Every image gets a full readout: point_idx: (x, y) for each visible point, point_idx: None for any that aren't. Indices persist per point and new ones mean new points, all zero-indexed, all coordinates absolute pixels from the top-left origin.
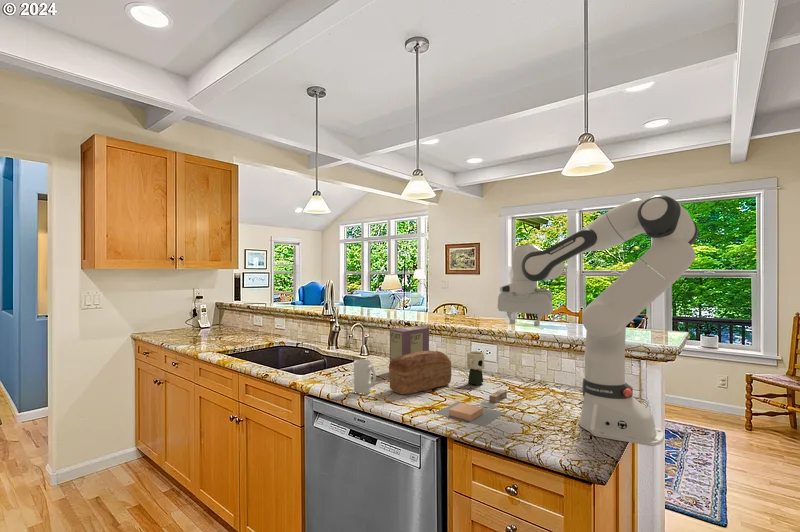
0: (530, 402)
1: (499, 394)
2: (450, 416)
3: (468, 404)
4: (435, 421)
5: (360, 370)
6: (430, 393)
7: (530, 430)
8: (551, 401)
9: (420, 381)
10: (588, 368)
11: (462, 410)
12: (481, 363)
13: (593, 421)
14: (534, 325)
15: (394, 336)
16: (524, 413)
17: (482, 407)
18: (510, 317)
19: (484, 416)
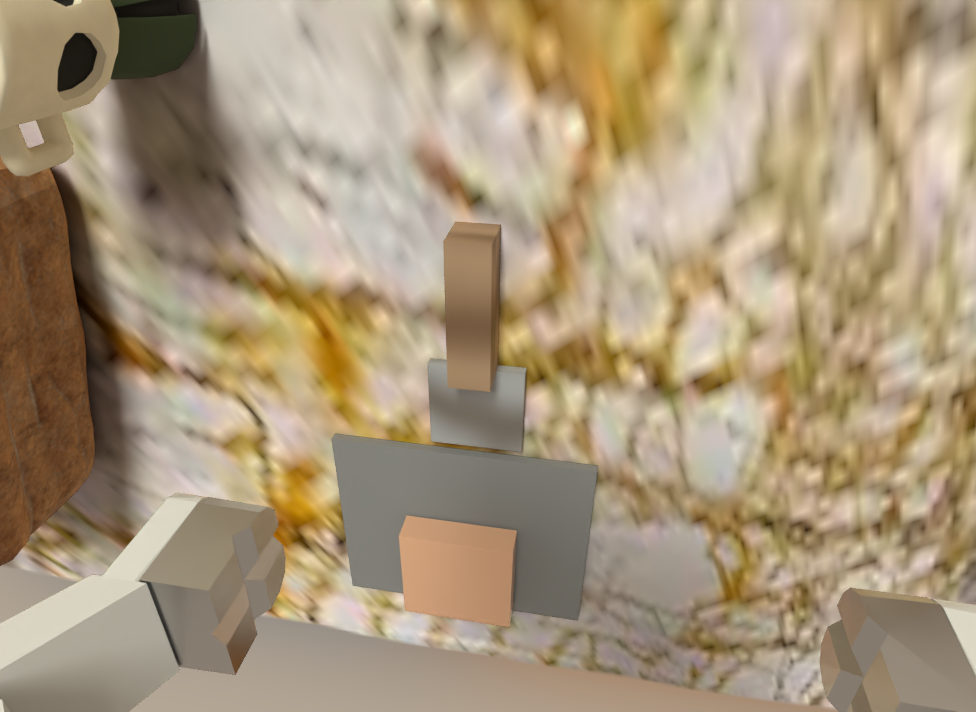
0: (665, 208)
1: (487, 341)
2: None
3: (394, 450)
4: (399, 620)
5: None
6: (133, 370)
7: (754, 568)
8: (809, 89)
9: (56, 430)
10: None
11: (456, 603)
12: (77, 49)
13: None
14: (833, 678)
15: None
16: (680, 407)
17: (470, 456)
18: (121, 704)
19: (533, 542)
